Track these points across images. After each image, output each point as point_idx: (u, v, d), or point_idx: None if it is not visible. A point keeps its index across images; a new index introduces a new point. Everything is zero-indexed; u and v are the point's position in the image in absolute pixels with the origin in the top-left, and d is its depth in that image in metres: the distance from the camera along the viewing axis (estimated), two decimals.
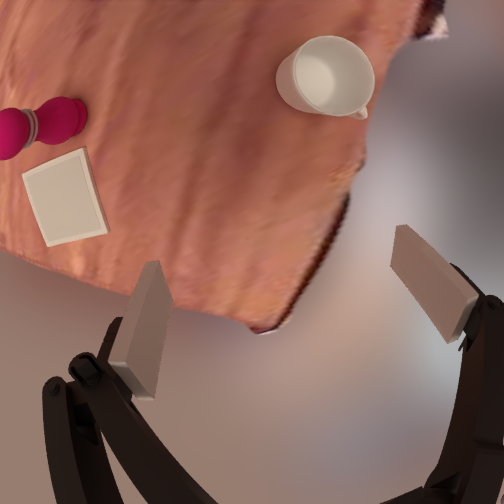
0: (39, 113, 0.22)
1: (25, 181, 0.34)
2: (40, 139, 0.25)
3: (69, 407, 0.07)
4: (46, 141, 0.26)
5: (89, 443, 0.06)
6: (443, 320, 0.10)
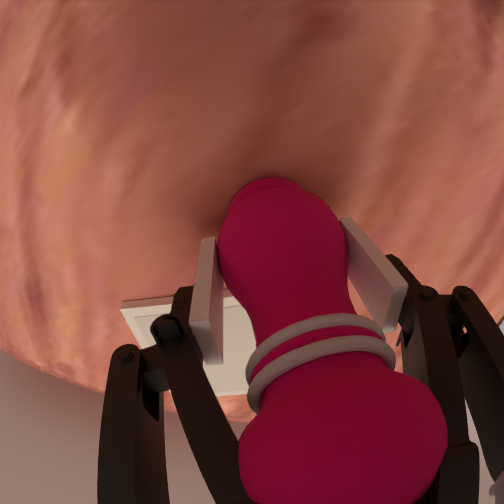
0: (347, 299, 0.10)
1: (131, 322, 0.22)
2: None
3: (139, 379, 0.08)
4: None
5: (151, 418, 0.07)
6: (376, 310, 0.11)
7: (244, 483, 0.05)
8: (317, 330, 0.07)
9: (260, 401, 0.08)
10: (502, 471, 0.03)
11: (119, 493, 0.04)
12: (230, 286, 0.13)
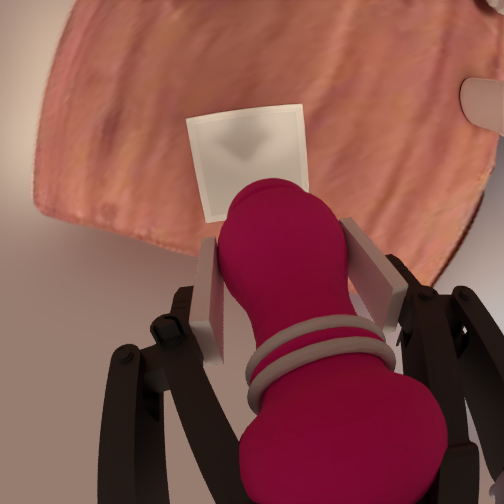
0: (347, 299, 0.10)
1: (191, 129, 0.32)
2: None
3: (139, 379, 0.08)
4: None
5: (151, 418, 0.07)
6: (376, 310, 0.11)
7: (244, 485, 0.05)
8: (317, 331, 0.07)
9: (260, 402, 0.08)
10: (502, 471, 0.03)
11: (119, 493, 0.04)
12: (230, 287, 0.13)
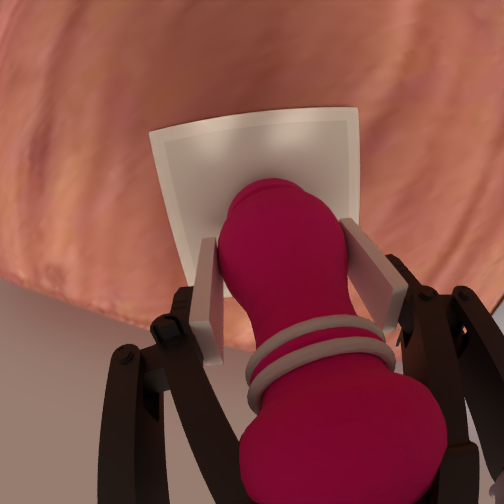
0: (347, 300, 0.10)
1: (158, 151, 0.18)
2: None
3: (139, 379, 0.08)
4: None
5: (151, 418, 0.07)
6: (376, 310, 0.11)
7: (245, 484, 0.05)
8: (317, 331, 0.07)
9: (260, 402, 0.08)
10: (502, 471, 0.03)
11: (119, 493, 0.04)
12: (230, 287, 0.13)
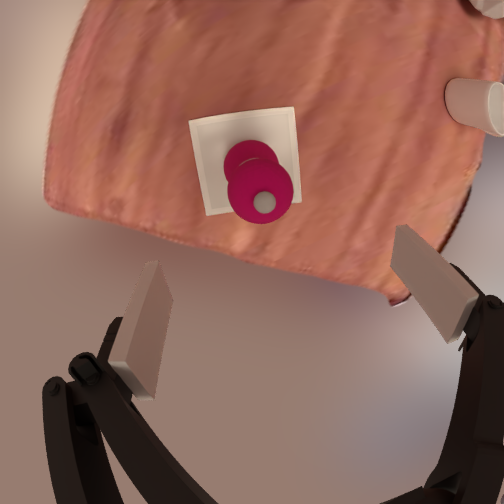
0: None
1: (193, 130, 0.36)
2: None
3: (69, 407, 0.07)
4: None
5: (89, 443, 0.06)
6: (443, 320, 0.10)
7: (229, 182, 0.23)
8: None
9: None
10: None
11: None
12: (228, 174, 0.32)
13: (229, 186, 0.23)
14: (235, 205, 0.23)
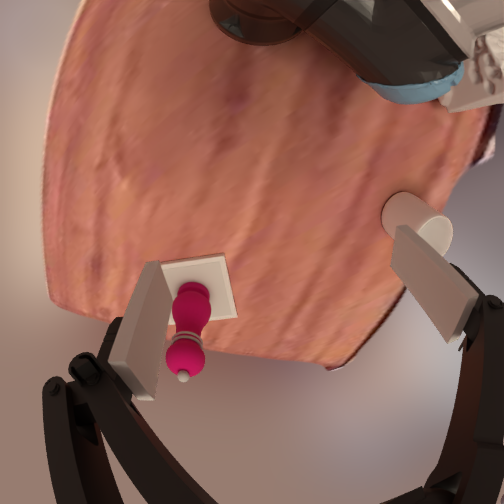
0: (195, 327, 0.42)
1: None
2: None
3: (69, 407, 0.07)
4: None
5: (89, 443, 0.06)
6: (443, 320, 0.10)
7: None
8: (181, 333, 0.40)
9: None
10: None
11: None
12: (174, 320, 0.46)
13: None
14: (170, 369, 0.37)
